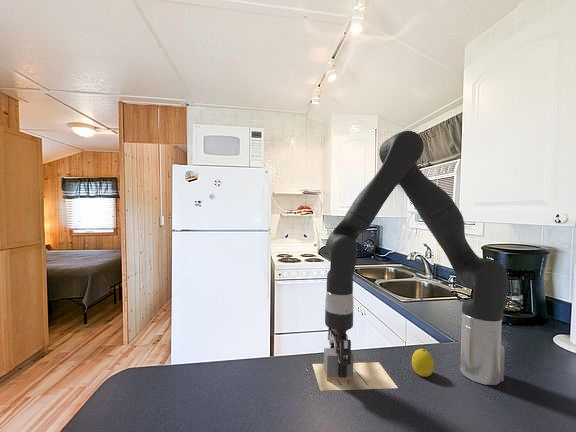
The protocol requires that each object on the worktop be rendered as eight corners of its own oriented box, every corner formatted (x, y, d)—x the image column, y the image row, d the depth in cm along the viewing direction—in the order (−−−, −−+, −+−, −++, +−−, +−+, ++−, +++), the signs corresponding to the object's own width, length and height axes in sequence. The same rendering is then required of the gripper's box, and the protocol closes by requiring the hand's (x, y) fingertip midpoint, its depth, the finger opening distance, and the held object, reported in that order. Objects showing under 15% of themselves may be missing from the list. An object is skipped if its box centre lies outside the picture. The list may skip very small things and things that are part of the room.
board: (378, 366, 81) (378, 362, 81) (397, 392, 69) (398, 387, 69) (312, 368, 80) (312, 363, 80) (320, 395, 68) (320, 390, 68)
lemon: (430, 373, 78) (431, 345, 78) (435, 385, 73) (436, 355, 73) (409, 370, 80) (410, 343, 80) (413, 381, 74) (413, 352, 74)
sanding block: (348, 370, 77) (348, 347, 76) (352, 379, 73) (353, 355, 72) (323, 371, 76) (324, 348, 76) (326, 380, 72) (327, 355, 72)
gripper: (361, 318, 67) (360, 383, 67) (345, 299, 81) (344, 353, 82) (331, 318, 67) (330, 384, 67) (320, 299, 81) (319, 354, 81)
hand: (337, 367), depth 74 cm, fingers open, 8 cm apart
